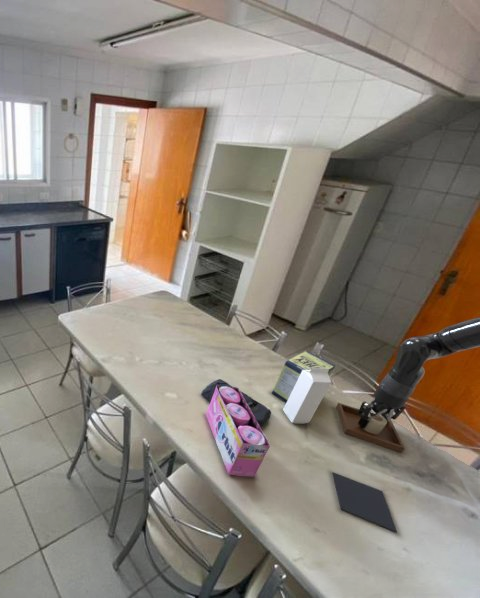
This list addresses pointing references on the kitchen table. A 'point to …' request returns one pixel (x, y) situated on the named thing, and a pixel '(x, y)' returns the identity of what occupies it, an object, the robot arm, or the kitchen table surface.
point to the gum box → (236, 432)
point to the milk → (307, 395)
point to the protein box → (297, 372)
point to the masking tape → (376, 424)
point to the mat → (363, 501)
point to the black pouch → (259, 411)
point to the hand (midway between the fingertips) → (369, 426)
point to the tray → (351, 427)
